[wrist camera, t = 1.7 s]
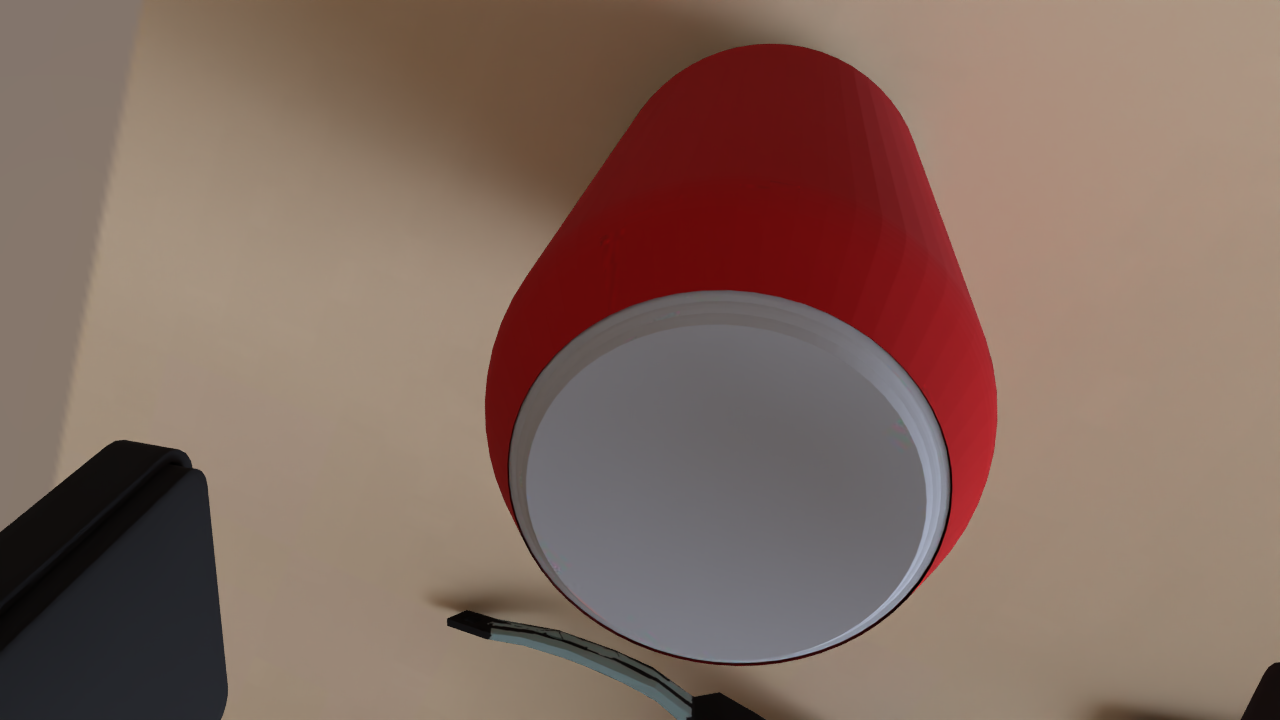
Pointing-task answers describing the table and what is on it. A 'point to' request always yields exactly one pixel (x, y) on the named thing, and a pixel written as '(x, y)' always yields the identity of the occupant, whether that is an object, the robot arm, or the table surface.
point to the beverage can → (746, 371)
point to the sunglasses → (606, 666)
